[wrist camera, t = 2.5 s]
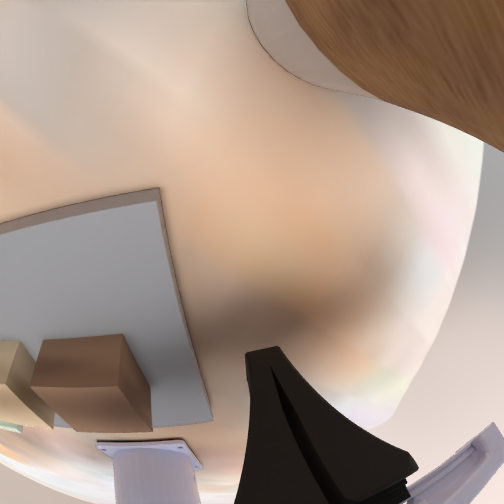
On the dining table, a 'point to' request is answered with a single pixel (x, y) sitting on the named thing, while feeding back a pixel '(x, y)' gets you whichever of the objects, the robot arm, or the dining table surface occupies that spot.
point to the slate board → (104, 293)
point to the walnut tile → (93, 384)
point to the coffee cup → (397, 54)
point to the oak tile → (20, 389)
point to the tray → (11, 426)
